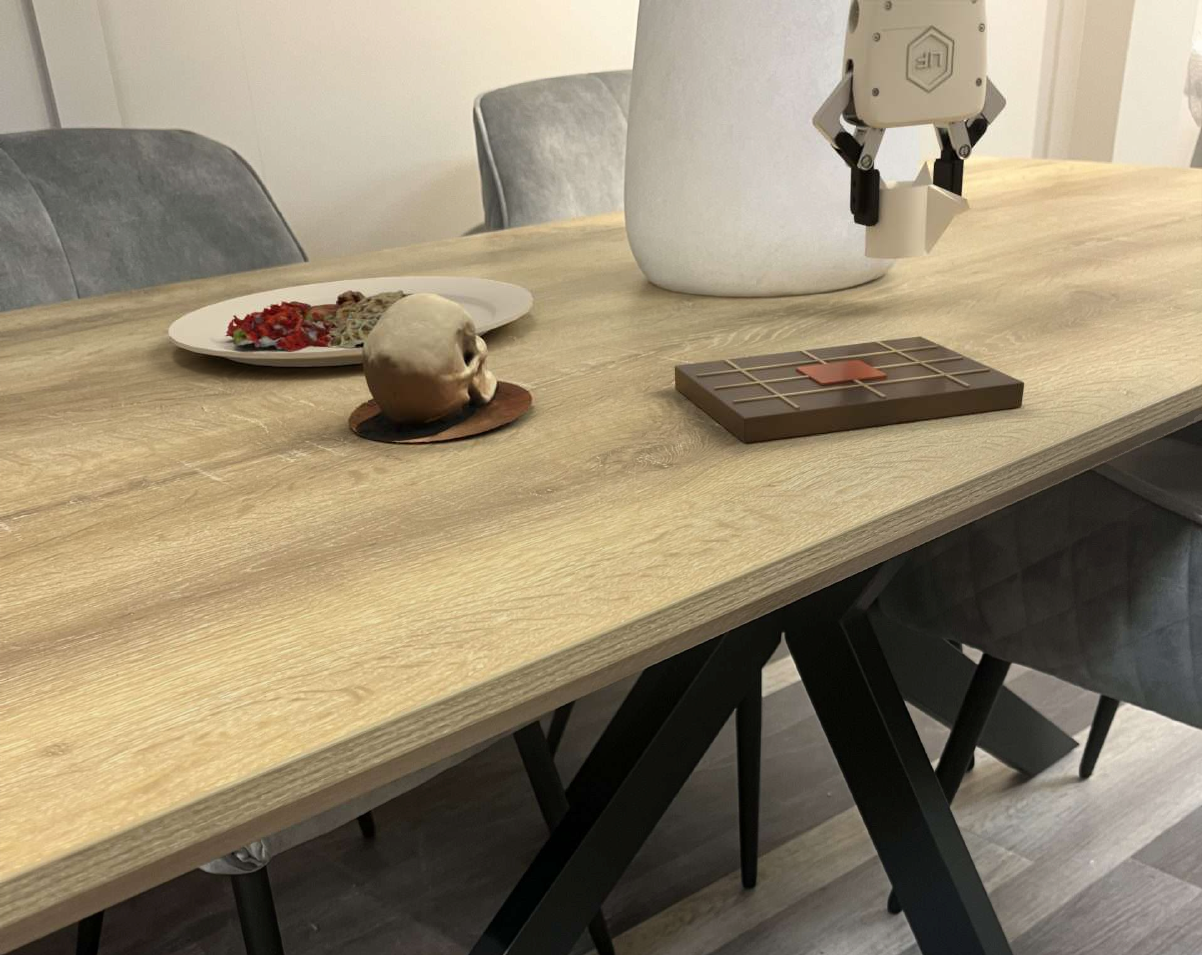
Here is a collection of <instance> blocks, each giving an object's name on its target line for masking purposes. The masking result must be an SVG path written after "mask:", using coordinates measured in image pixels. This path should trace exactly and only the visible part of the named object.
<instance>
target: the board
mask: <svg viewBox="0 0 1202 955" xmlns="http://www.w3.org/2000/svg"><path fill="white" fill-rule="evenodd" d="M674 388H675V389H676V390H677V391H678V392H680V393H681V394H682V395H683V396H685V397H686V398H688V399H689V400H690V401H691V402H692V403H693V404H695V405H696V406H697V407H698V408H700V409H701V410H702V411H704V412H705V413H706V414H707V415H709V416H710V417H711V418H712V419H713V420H715V421H716V422H717V423H719V424H720V425H721V426H722V427H724V428H725V429H726V430H728V431H729V432H730V433H732V435H734V436H735V437H736V438H738V439H739V440H740V441H741V442H743V443H744V444H750V443H757V442H767V441H773V440H781V439H789V438H796V437H803V436H804V437H805V436H811V435H818V434H824V433H825V434H826V433H834V432H843V431H848V430H855V429H863V428H872V427H879V426H886V425H894V424H901V423H909V422H918V421H923V420H932V419H939V418H947V417H954V416H962V415H969V414H977V413H984V412H992V411H1000V410H1008V409H1014V408H1021V407H1022V406H1023V400H1024V399H1023V398H1024V389H1025V382H1024V381H1022V380H1020V379H1018V378H1015V377H1013V376H1011V375H1009V374H1006V373H1004V372H1002V371H1000V370H997V369H996V368H993V367H990V366H989V365H986V364H985V363H981V362H979V361H977V360H975V359H972V358H970V357H968V356H966V355H963V354H961V353H959V352H957V351H954V350H952V349H950V348H948V347H945V346H943V345H941V344H938V343H936V342H934V341H932V340H929V339H928V338H925V337H923V336H912V337H903V338H902V337H901V338H895V339H887V340H878V341H877V340H876V341H869V342H861V343H853V344H846V345H836V346H828V347H820V348H812V349H804V350H803V349H801V350H795V351H786V352H779V353H770V354H761V355H753V356H744V357H736V358H735V357H734V358H728V359H721V360H720V359H719V360H712V361H711V360H710V361H704V362H695V363H686V364H678V365H674Z"/></svg>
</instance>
